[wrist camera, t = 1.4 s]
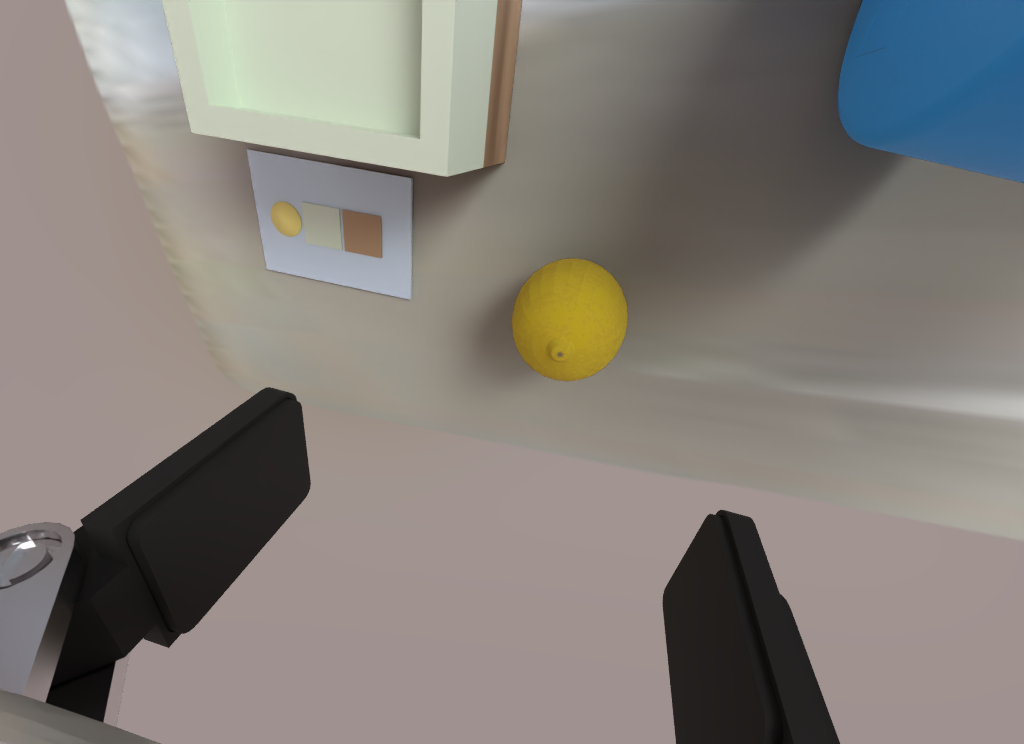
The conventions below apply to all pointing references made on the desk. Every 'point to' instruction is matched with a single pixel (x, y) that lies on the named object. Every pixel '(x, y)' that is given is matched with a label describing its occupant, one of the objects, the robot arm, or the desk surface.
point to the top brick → (341, 77)
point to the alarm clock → (938, 82)
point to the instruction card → (334, 222)
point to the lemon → (569, 319)
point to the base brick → (502, 80)
